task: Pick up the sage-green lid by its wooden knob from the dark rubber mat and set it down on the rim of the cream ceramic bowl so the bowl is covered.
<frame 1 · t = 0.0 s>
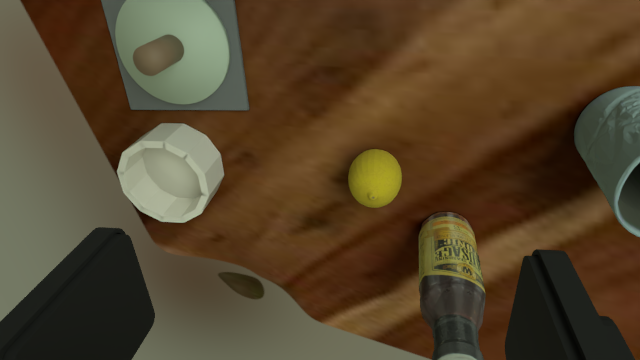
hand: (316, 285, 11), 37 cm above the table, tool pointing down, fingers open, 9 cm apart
mat: (176, 45, 47), on the table
lid: (175, 46, 46), resting on mat
bowl: (181, 163, 54), on the table
sauce bottle: (443, 228, 53), on the table
blue-green cup: (620, 128, 44), on the table
lemon: (376, 159, 50), on the table
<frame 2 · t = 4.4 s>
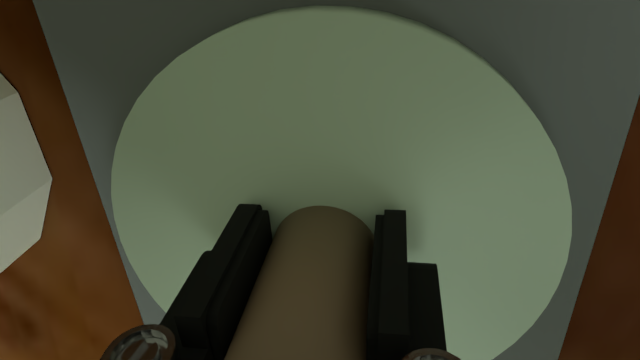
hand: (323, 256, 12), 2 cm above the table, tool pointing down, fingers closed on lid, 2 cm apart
mat: (331, 219, 13), on the table
lid: (330, 228, 13), resting on mat, touching gripper
when the fingers open (8 cm above the table, at t = 8.6 s): lid drops 1 cm, resting on bowl.
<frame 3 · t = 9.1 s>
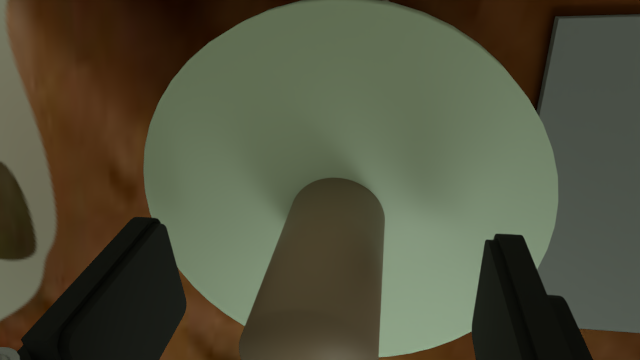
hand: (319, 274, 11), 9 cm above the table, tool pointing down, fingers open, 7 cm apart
lid: (340, 201, 14), point 5 cm above the table, touching bowl
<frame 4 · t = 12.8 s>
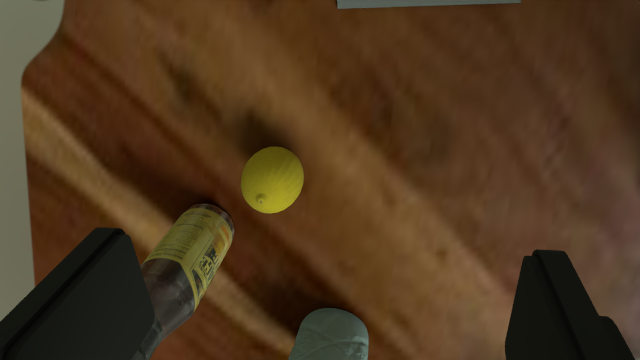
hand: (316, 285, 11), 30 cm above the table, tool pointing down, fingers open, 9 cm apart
sauce bottle: (211, 221, 49), on the table
blue-green cup: (332, 331, 55), on the table
lemon: (283, 158, 44), on the table
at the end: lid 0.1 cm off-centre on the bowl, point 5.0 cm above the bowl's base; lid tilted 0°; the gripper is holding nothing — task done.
